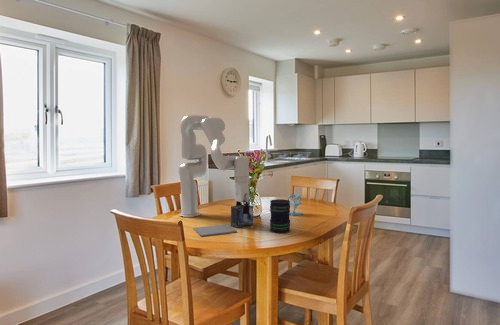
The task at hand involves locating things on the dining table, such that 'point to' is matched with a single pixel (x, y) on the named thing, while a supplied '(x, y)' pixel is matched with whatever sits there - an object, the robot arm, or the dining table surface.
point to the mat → (214, 230)
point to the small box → (241, 216)
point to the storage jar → (280, 216)
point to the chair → (295, 204)
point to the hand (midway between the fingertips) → (242, 212)
